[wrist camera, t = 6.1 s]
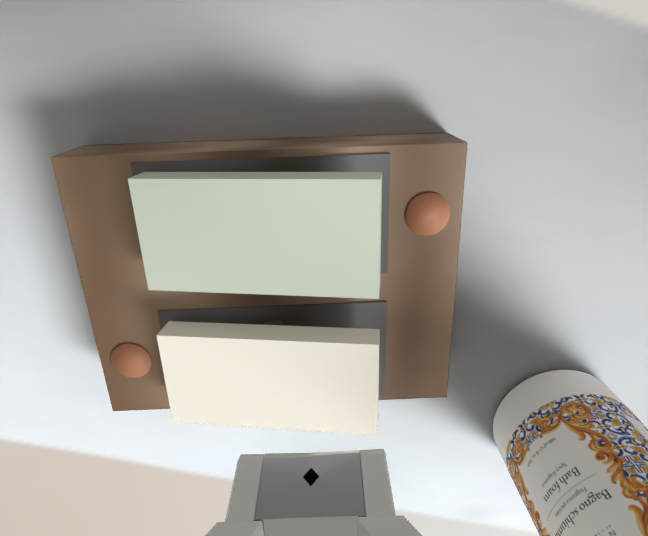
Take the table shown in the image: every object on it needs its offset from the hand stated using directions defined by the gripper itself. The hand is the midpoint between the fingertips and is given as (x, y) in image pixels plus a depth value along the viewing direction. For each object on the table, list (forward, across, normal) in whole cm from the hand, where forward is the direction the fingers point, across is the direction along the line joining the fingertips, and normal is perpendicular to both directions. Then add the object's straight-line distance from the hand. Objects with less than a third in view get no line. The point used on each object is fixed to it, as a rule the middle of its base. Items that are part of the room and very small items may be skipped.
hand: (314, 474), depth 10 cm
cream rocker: (+10, +2, +4) cm, 11 cm away
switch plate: (+14, +2, +1) cm, 14 cm away
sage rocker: (+10, +2, -2) cm, 11 cm away
